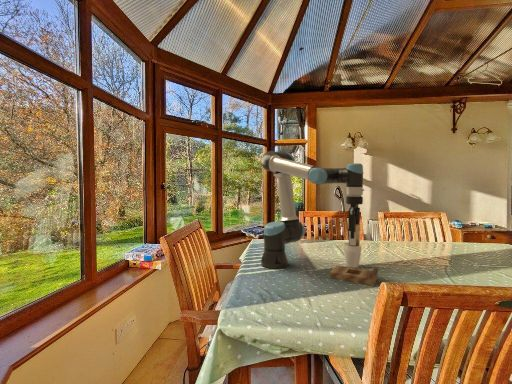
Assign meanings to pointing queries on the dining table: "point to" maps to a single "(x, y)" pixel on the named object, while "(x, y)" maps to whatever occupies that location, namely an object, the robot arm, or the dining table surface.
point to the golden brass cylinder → (356, 235)
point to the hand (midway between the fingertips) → (354, 243)
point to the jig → (355, 275)
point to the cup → (352, 255)
